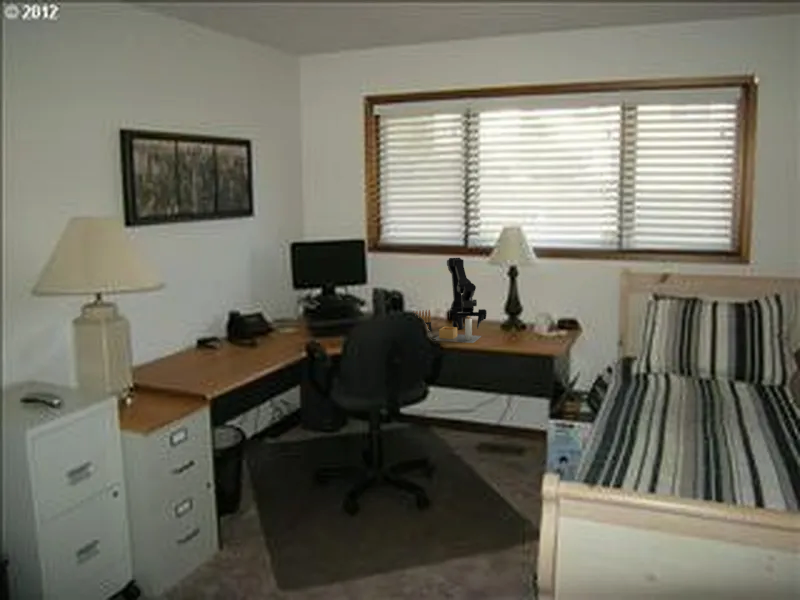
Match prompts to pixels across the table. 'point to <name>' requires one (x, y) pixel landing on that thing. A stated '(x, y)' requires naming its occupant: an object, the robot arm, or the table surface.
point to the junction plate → (453, 335)
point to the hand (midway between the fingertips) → (468, 328)
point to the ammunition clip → (426, 318)
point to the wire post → (468, 329)
